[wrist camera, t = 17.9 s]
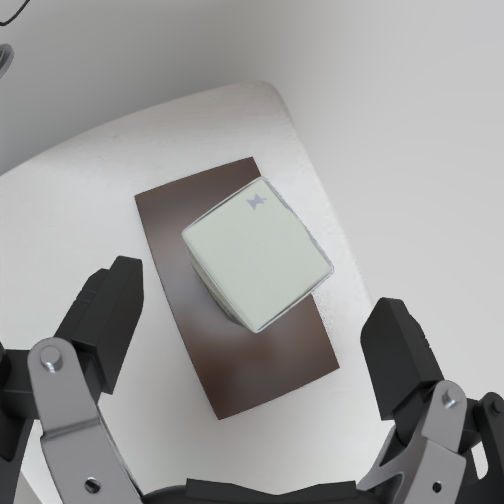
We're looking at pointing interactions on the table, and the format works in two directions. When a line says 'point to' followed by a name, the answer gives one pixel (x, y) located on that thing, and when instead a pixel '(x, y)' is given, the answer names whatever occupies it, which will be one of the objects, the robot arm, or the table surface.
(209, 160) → the table surface
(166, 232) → the walnut board
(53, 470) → the robot arm
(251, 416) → the table surface
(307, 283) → the box
